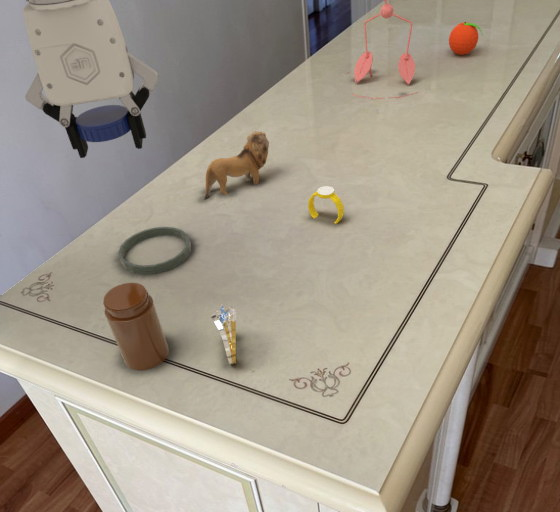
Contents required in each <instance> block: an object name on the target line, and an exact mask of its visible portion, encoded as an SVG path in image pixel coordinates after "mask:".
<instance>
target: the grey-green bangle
mask: <svg viewBox="0 0 560 512" xmlns="http://www.w3.org/2000/svg"><path fill="white" fill-rule="evenodd" d="M164 236H169V237H176V238H179V239H181V240H182V241H184V242H185V246H184V248H183V249H182V250H181V251H180V252H179V253H178V254H177V255H175V256H174V257H172V258H170V259H168V260H166V261H162V262H158V263H155V264H147V265H142V264H134V263H131V262H130V261H127V260H126V259H125V257H126V254H127V253H128V252H129V250H130V249H131V248H132V247H134V246H135V245H136V244H138V243H140V242H142V241H144V240H147V239H150V238H154V237H164ZM191 252H192V243H191V240H190V237H189V234H188V233H187V232H185V231H184V230H182V229H180V228H177V227H175V226H174V227H172V226H158V227H152V228H147V229H144V230H141V231H139V232H136V233H134V234H133V235H131V236H130V237H128V238H126V239H125V240H124V241H123V243H122V244H121V245H120V246H119V250H118V253H117V254H118V258H119V260H120V261H119V262H120V263H121V264H120V265H121V266H122V267H123V268H124V269H125V270H126V271H128V272H130V273H133V274H135V275H136V274H138V275H143V276H144V275H146V276H147V275H154V274H155V275H156V274H160V273H164V272H167V271H170V270H172V269H174V268H177V267H179V266H180V265H181V264H183V262H185V261H186V260H187V259H188V257H189V256H190V255H191Z"/></svg>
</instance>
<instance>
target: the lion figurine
mask: <svg viewBox="0 0 560 512" xmlns="http://www.w3.org/2000/svg"><path fill="white" fill-rule="evenodd" d="M246 141H247V142H246V143H245V145H244V146H243V149H242V150H241V151H240V153H239V154H237V155H235V156H232V157H231V156H230V157H226V158H225V157H224V158H221V157H219V158H215V159H214V160H212V161H211V162H210V163H209V165H208V167H207V169H206V173H205V195H204V198H203V201H206V200H208V199H209V195H210V193H212V191H211V189H212V187H213V186H214V184H215V183H216V182H217V183H218V185H219V192H220V194H222V196H227V195H229V193H228V191H227V189H226V188H227V184H228V183H227V182H228V177H231V178H239V177H244V176H245V181H246V182H251V181H253V185H256V186H257V185H259V184H260V182H259V181H260V170H261V169H262V168H264V167H265V165H266V163H267V160H268V155H269V147H270V142H269V139H268V138H267V135H266V133H265V132H263V131H257V130H256V131H253V132H251V133H250V134H249V135H247V137H246Z"/></svg>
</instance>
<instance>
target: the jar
mask: <svg viewBox="0 0 560 512" xmlns="http://www.w3.org/2000/svg"><path fill="white" fill-rule="evenodd" d="M103 307H104V316H105V318H106V320H107V323H108V325H109V328H110V330H111V333H112V335H113V337H114V340H115V342H116V345H117V347H118V348H117V349H118V350H119V353H120V355H121V357H122V360H123V362H124V364H125V366H126V367H127V368H129V369H131V370H134V371H148V370H152V369H153V368H156V367H158V366H159V365H161V364H162V363H163V362H165V360H166V359H167V357H168V356H169V353H170V349H169V345H168V342H167V339H166V336H165V332H164V330H163V326H162V324H161V320H160V317H159V314H158V312H157V308H156V306H155V302H154V298H153V297H152V296H151V295H150V294H149V292H148V290H147V289H146V287H145V286H144V285H143V284H141V283H138V282H126V283H121V284H118V285H116V286H113V287H112V288H110V289H109V290H108V291H107V292H106V294H104V296H103Z"/></svg>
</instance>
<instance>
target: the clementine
mask: <svg viewBox="0 0 560 512" xmlns="http://www.w3.org/2000/svg"><path fill="white" fill-rule="evenodd" d="M478 30H479V32H480V33H481V36H483V31H482V30H481V28H480V26H478V25H477V24H475V23H472V22H468V21H467V22H466V21H464V22H460V23H458V24H457V25H455V26H454V27H453V28H452V30H451V31H450V34H449V36H448V45H449V48H450V50H451V52H453V53H454V54H456V55H459V56H464V55H467V54H470V53H471V52H473V50H474V49H475V48H476V46H477V45H478V42H479V32H478Z"/></svg>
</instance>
